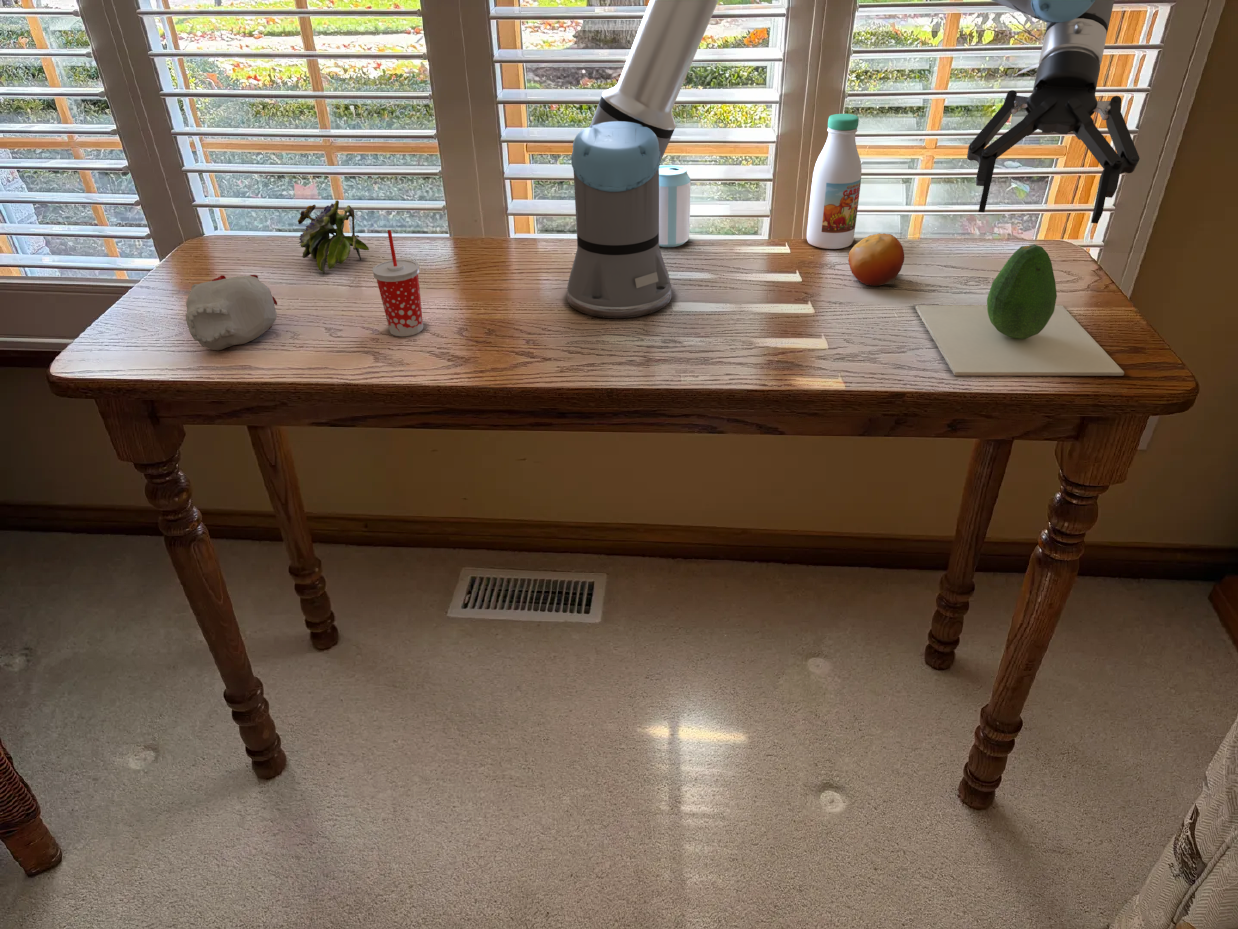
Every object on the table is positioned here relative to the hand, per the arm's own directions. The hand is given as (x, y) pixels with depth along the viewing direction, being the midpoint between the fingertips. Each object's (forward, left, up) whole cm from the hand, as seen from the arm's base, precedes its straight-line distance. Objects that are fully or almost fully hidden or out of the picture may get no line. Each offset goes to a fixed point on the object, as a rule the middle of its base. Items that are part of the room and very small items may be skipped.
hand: (1038, 212), depth 111 cm
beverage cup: (-25, -80, -14) cm, 85 cm away
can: (-45, -34, -14) cm, 58 cm away
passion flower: (-56, -88, -14) cm, 105 cm away
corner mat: (+6, -5, -14) cm, 16 cm away
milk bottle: (-35, -9, -14) cm, 39 cm away
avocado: (+6, -5, -14) cm, 16 cm away
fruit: (-18, -11, -14) cm, 25 cm away
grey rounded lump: (-31, -102, -14) cm, 108 cm away
